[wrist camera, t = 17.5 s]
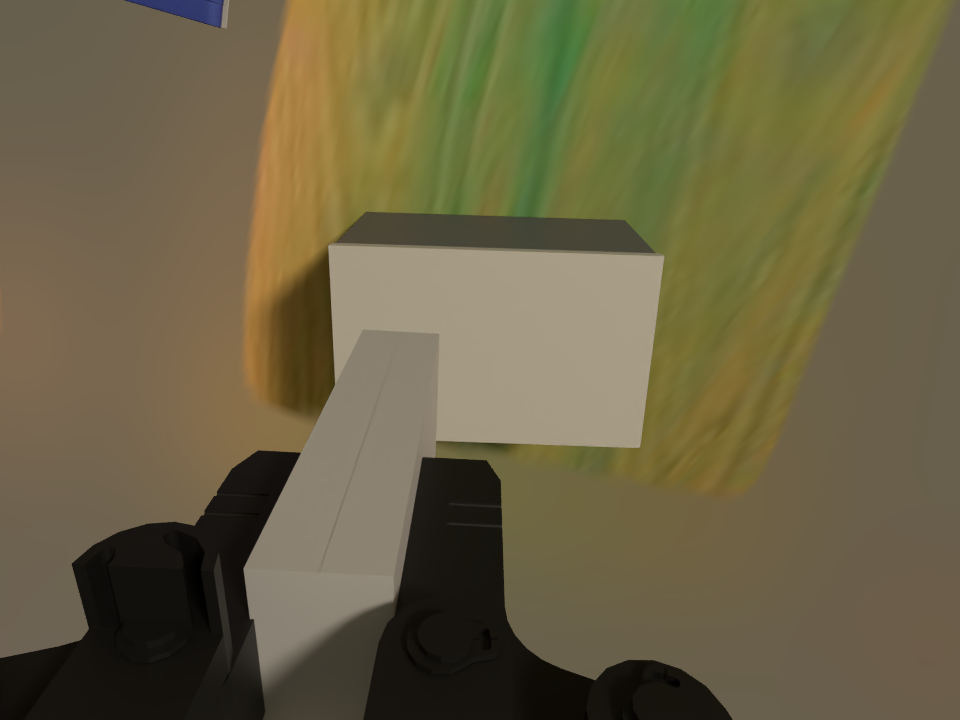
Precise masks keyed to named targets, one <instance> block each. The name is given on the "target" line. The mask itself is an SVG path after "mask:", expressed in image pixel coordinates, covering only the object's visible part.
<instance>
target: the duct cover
mask: <svg viewBox="0 0 960 720" xmlns="http://www.w3.org/2000/svg"><path fill="white" fill-rule="evenodd" d="M328 248H329V269H330V289H331V309H332V329H333V350H334V370H335V384H336V382H337V380H338V378H339V376H340V374H341V372H342V370H343V368H344V366H345V364H346V362H347V360H348V358H349V356H350V354H351V352H352V350H353V348H354V346H355V344H356V342H357V340H358V338H359V336H360V334H361V332H362V330H363V329H364V330H382V331H399V332H417V333H435V334H440V335H439V366H438V398H437V429H436V441H456V442H485V443H514V444H543V445H572V446H601V447H630V448H640V443H641V435H642V427H643V420H644V412H645V404H646V396H647V388H648V380H649V372H650V364H651V356H652V349H653V341H654V333H655V325H656V317H657V309H658V301H659V293H660V285H661V277H662V270H663V262H664V256H663V255H662V254H660V253H630V252H599V251H568V250H538V249H507V248H477V247H446V246H415V245H385V244H354V243H331V244H330V245H328Z"/></svg>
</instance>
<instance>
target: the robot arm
mask: <svg viewBox="0 0 960 720" xmlns="http://www.w3.org/2000/svg"><path fill="white" fill-rule="evenodd" d="M439 335H440V334H435V333H417V332H399V331H382V330H364V329H363V330H362V332H361V334H360V336H359V338H358V340H357V342H356V344H355V346H354V348H353V350H352V352H351V354H350V356H349V358H348V360H347V362H346V364H345V366H344V368H343V370H342V372H341V374H340V376H339V378H338V380H337V382H336V384H335V386H334V388H333V390H332V392H331V394H330V396H329V398H328V400H327V402H326V404H325V406H324V408H323V410H322V412H321V414H320V416H319V418H318V420H317V422H316V424H315V426H314V428H313V430H312V432H311V434H310V436H309V438H308V440H307V442H306V445H305V447H304V449H303V450H302V452H301V453H296V452H276V451H257V452H255V453H254V454H252V455H251V456H250V457H248V458H247V459H245V460H244V461H242V462H241V463H240V464H238V465H237V466H235V467H234V468H232V470H231V471H230V473H229V474H228V476H227V477H226V479H225V481H224V482H223V483H222V485H221V487H220V488H219V489H218V491H217V496H214V497H213V499H212V500H211V502H210V503H209V505H208V506H207V508H206V509H205V513H204V516H201V517H200V518H199V520H198V521H197V523H196V525H195V526H192V525H188V524H183V523H177V522H167V523H152V524H145V525H142V526H138V527H135V528H131V529H128V530H124V531H121V532H118V533H116V534H114V535H112V536H110V537H108V538H107V539H105V540H103V541H101V542H99V543H97V544H95V545H93V546H92V547H91V548H89V550H87V551H86V552H85V553H84V554H82V555H81V556H80V557H79V558H78V559H77V560H76V561H75V562H73V563H72V567H73V571H74V574H75V578H76V581H77V586H78V589H79V593H80V597H81V600H82V604H83V608H84V612H85V615H86V619H87V623H88V626H89V630H88V632H87V633H86V634H85V636H84V637H83V638H82V640H80V641H77V642H73V643H69V644H66V645H62V646H59V647H54V648H48V649H43V650H39V651H34V652H29V653H24V654H19V655H14V656H9V657H4V658H0V720H732V718H731V717H730V715H729V713H728V712H727V711H726V709H725V708H724V706H723V705H722V704H721V703H720V702H719V701H718V700H717V698H716V697H715V696H714V695H713V694H712V693H711V691H710V690H709V689H708V688H707V687H706V686H705V685H703V684H702V683H701V682H699V681H698V680H696V679H694V678H693V677H692V676H690V675H689V674H687V673H686V672H684V671H682V670H681V669H678V668H676V667H673V666H670V665H666V664H663V663H660V662H657V661H654V660H627V661H624V662H622V663H619V664H617V665H614V666H611V667H609V668H606V670H605V671H604V672H603V673H602V674H601V675H600V676H599V677H598V678H597V679H596V680H593V679H590V678H587V677H584V676H581V675H578V674H575V673H572V672H569V671H567V670H564V669H561V668H559V667H557V666H554V665H552V664H550V663H548V662H546V661H544V660H542V659H540V658H539V657H538V656H536V655H535V654H533V653H532V652H531V651H529V650H528V649H527V648H526V647H525V646H524V645H523V644H522V643H521V641H520V640H519V639H518V638H517V637H516V636H515V634H514V633H513V631H512V629H511V627H510V625H509V623H508V621H507V616H506V611H505V601H504V570H503V538H502V509H501V481H500V479H499V478H498V476H497V475H496V473H495V472H494V470H493V469H492V468H491V466H490V465H489V463H488V462H487V460H468V459H449V458H435V454H436V429H437V398H438V366H439Z"/></svg>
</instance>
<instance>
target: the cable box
mask: <svg viewBox="0 0 960 720" xmlns="http://www.w3.org/2000/svg"><path fill="white" fill-rule="evenodd" d="M337 243H354V244H385V245H415V246H446V247H477V248H507V249H538V250H568V251H599V252H630V253H655V252H654V251H653V250H652V249H651V248H650V247H649V245H648V244H647V243H646V242H645V241H644V240H643V239H642V238H641V237H640V236H639V235H638V234H637V233H636V232H635V231H634V230H633V229H632V227H631V226H630V225H629V224H628V223H627V222H626V221H625V220H596V219H565V218H534V217H503V216H473V215H442V214H411V213H380V212H366V213H365V214H364V215H363V216H362V217H361V218H360V219H359V220H358V221H357V222H356V223H355V224H354V225H353V226H352V227H351V228H350V229H349V230H348V231H347V232H346V233H345V234H344V235H343V236H342V237H341V239H340V240H339V241H338V242H337Z"/></svg>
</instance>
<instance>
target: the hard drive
mask: <svg viewBox="0 0 960 720" xmlns="http://www.w3.org/2000/svg"><path fill="white" fill-rule="evenodd" d="M125 1H129V2H132V3H136V4H139V5H143V6H146V7H150V8H153V9H157V10H160V11H164V12H167V13H170V14H174V15H177V16H181V17H184V18H188V19H191V20H194V21H198V22H201V23H205V24H208V25H212V26H215V27H218V28H223V29H227V21H228V8H229V0H125Z"/></svg>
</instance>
